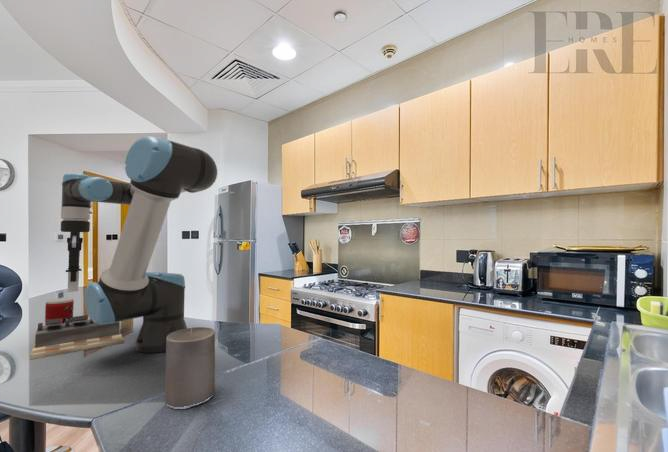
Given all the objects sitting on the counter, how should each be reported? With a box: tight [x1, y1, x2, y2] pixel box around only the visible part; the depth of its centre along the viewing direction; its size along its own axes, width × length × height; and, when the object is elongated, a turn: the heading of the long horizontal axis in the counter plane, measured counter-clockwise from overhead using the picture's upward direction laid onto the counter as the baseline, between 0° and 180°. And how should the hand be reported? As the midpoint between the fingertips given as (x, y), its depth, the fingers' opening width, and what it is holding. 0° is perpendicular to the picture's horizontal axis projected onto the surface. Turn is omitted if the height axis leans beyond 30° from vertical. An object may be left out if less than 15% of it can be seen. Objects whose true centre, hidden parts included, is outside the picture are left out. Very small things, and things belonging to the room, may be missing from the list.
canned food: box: [44, 297, 75, 326], centre depth 117 cm, size 8×8×11 cm
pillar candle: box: [164, 326, 216, 407], centre depth 67 cm, size 10×10×15 cm
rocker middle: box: [73, 314, 89, 322], centre depth 105 cm, size 9×4×1 cm, turn 41°
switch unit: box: [29, 318, 125, 360], centre depth 102 cm, size 18×22×7 cm
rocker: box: [46, 318, 62, 325], centre depth 101 cm, size 9×4×1 cm, turn 41°
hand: (72, 291), depth 103 cm, fingers closed
